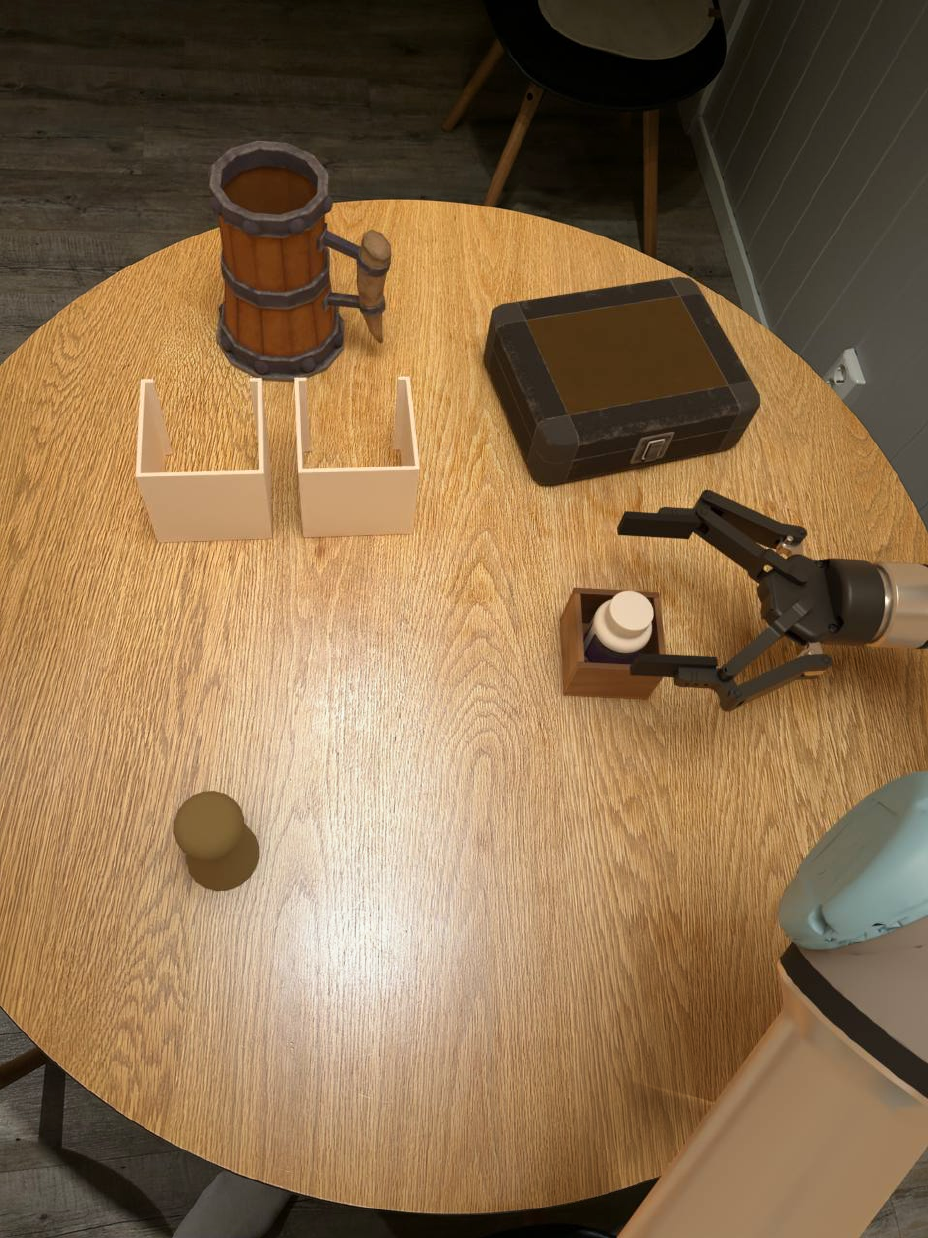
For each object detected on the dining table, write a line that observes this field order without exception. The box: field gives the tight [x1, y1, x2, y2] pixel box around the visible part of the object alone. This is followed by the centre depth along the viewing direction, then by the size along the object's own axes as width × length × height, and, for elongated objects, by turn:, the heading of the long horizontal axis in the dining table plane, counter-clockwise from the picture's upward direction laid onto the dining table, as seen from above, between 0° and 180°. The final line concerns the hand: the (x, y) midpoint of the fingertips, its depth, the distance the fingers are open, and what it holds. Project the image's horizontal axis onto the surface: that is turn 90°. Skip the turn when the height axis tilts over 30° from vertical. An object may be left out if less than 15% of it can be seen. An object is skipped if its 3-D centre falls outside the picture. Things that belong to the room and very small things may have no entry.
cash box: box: [483, 276, 761, 486], centre depth 103 cm, size 25×20×8 cm
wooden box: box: [559, 587, 667, 700], centre depth 89 cm, size 8×8×6 cm
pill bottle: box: [583, 590, 653, 664], centre depth 87 cm, size 5×5×10 cm
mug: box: [207, 140, 393, 383], centre depth 97 cm, size 19×14×20 cm
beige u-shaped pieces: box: [135, 376, 421, 544], centre depth 91 cm, size 25×11×11 cm, turn 96°
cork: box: [172, 790, 260, 892], centre depth 74 cm, size 6×6×11 cm
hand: (627, 590), depth 79 cm, fingers open, 13 cm apart
